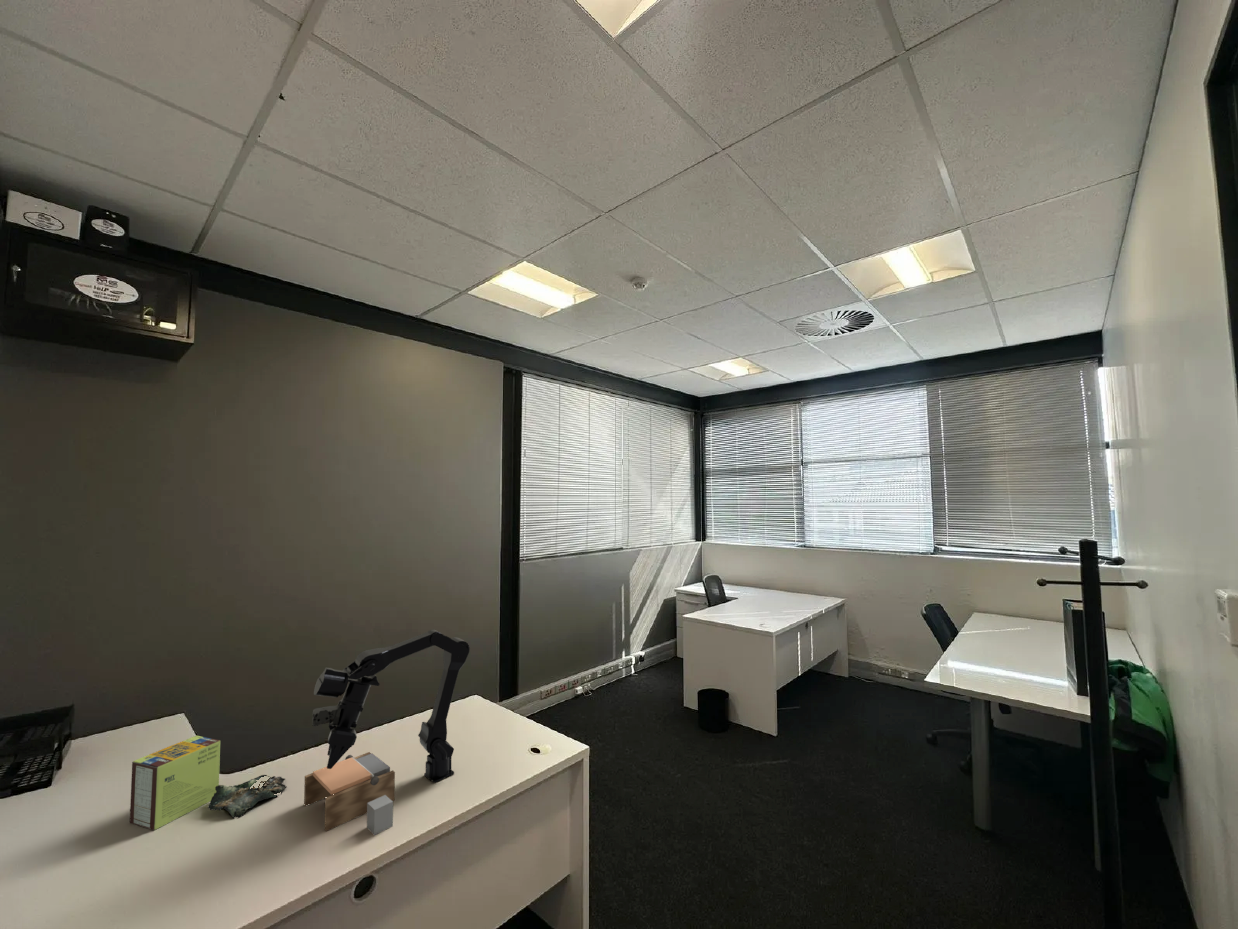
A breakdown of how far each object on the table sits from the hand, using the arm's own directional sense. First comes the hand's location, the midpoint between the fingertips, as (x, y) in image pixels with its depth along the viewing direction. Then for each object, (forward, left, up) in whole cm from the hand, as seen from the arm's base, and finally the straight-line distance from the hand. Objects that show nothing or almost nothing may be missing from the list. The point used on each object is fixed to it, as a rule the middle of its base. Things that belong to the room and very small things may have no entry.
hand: (329, 761), depth 134 cm
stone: (-7, +16, -13) cm, 22 cm away
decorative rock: (+11, -25, -14) cm, 31 cm away
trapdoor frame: (-6, -1, -13) cm, 14 cm away
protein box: (+26, -34, -14) cm, 45 cm away
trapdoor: (-6, -1, -9) cm, 11 cm away
